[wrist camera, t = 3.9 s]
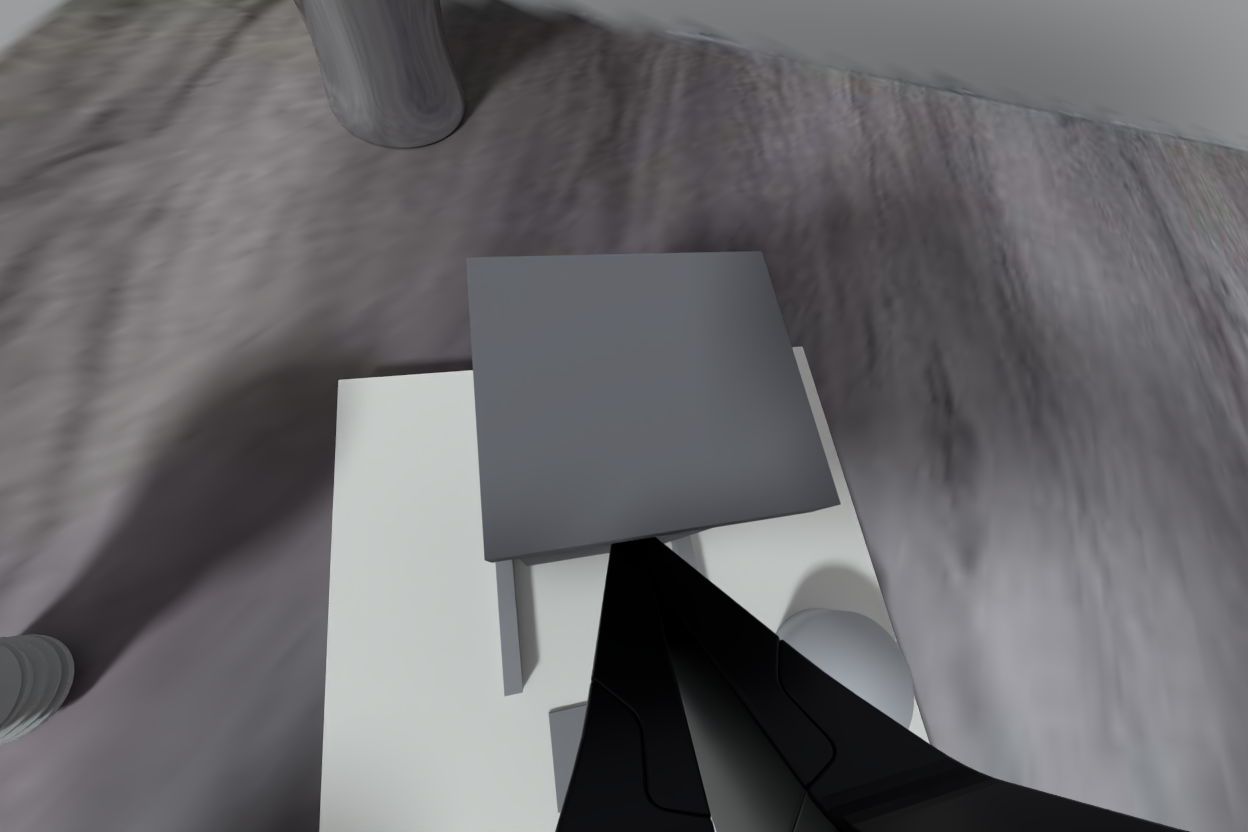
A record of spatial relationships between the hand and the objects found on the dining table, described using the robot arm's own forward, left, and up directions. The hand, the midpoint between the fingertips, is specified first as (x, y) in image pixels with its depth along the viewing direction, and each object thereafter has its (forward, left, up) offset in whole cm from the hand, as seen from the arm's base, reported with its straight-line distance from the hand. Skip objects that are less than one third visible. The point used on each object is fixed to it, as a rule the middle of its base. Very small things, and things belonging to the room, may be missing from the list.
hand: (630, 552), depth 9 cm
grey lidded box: (+2, -2, -6) cm, 6 cm away
